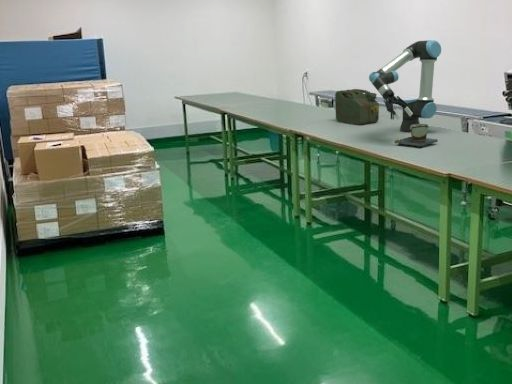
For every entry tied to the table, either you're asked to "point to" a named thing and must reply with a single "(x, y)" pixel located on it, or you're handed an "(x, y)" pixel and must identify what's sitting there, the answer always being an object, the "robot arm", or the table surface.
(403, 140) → the levelling stand
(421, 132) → the food container
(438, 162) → the table surface
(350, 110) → the fuel can
